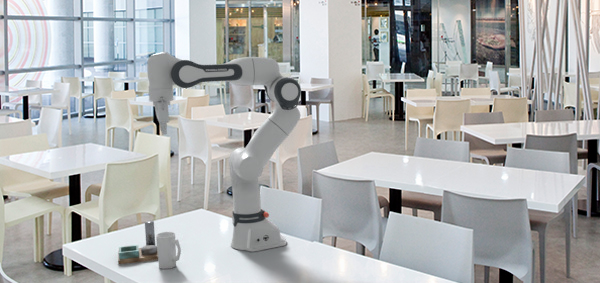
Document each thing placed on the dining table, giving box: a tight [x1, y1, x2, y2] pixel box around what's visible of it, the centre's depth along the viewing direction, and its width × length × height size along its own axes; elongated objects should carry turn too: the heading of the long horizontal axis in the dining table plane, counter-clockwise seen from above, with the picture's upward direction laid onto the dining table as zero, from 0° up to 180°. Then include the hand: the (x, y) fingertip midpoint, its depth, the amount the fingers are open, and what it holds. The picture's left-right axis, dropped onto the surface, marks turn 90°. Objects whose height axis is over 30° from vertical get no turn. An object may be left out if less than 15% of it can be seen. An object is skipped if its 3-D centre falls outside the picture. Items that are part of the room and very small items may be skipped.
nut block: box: [117, 244, 158, 265], centre depth 219 cm, size 15×12×4 cm
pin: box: [144, 220, 156, 246], centre depth 232 cm, size 4×4×10 cm
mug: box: [155, 231, 182, 270], centre depth 208 cm, size 10×7×12 cm, turn 60°
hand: (163, 132), depth 215 cm, fingers open, 8 cm apart
